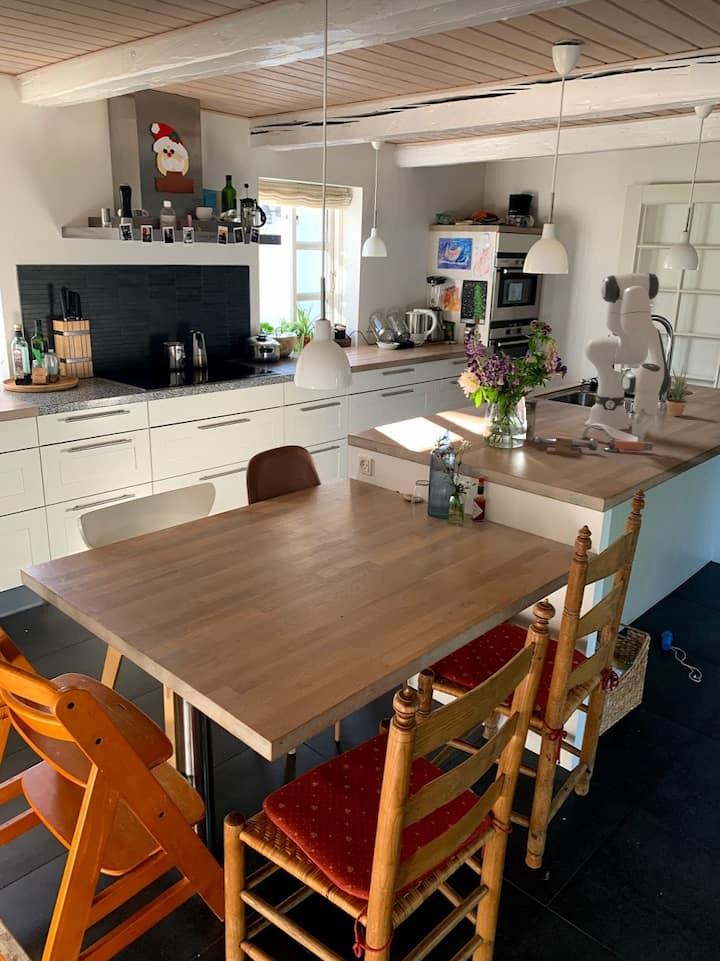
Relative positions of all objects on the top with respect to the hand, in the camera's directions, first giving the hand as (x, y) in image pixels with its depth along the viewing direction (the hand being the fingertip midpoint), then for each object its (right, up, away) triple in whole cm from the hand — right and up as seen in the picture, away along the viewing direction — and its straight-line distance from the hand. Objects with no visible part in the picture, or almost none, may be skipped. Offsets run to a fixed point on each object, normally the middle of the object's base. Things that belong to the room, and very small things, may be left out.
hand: (640, 442), depth 292 cm
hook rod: (-28, -2, +3) cm, 29 cm away
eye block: (-29, -3, +3) cm, 29 cm away
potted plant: (+43, +16, +72) cm, 86 cm away
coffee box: (-41, +3, +21) cm, 46 cm away
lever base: (-10, -3, +5) cm, 11 cm away
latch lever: (-1, -2, +4) cm, 4 cm away
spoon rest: (-6, 0, +17) cm, 18 cm away
